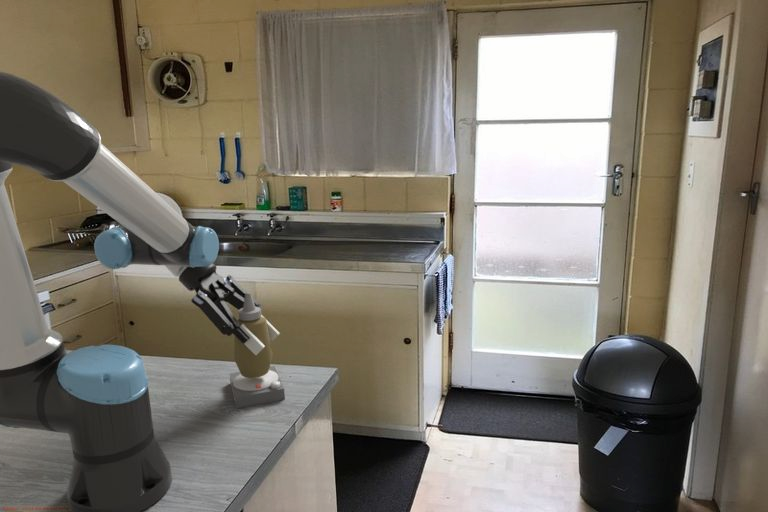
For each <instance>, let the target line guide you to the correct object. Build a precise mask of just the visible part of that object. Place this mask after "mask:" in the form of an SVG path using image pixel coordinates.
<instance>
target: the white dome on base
mask: <svg viewBox="0 0 768 512" xmlns="http://www.w3.org/2000/svg"><path fill="white" fill-rule="evenodd" d="M229 379H230V387H231V391H232V396H233V400H234V405H235V409H240V408H245V407H251V406H255V405H256V406H257V405H261V404H265V403H271V402H277V401H280V400H281V401H282V400H285V399H286V397H285V396H286V395H285V387H284V386H283V383H282V380H281V377H280V376H279V373H278V371H277V369H276V366H275V365H272V366H271V365H270V368H269V371H268V373H267V374H265V375H263V376H261V377H257V378H246V377H244V376H242V375H241V373H240V371H236V372H231V373H229Z"/></svg>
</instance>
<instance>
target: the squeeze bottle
mask: <svg viewBox="0 0 768 512" xmlns="http://www.w3.org/2000/svg"><path fill="white" fill-rule="evenodd" d="M247 292H248V293H245V298H244V306H243V308H241V309H240V310H238V311H237V314H238V319H236V320H237V321H238V323H239V325H240V326H241V325H242V324H244V325H245V326H246V327H247V328H248V329H249V330H250V331H251V332H252V333H253V334H254V335H255V336H256V337H257V338H258V339H259V340H260V341H261V342H262V343H263V344H264V345H265V347H264V348H263V349H262V350H261V351H260V352H259V353H258V354H257V355H255V354H254V353H253V352H252V351H251V350H250V349H249V348H248V347H247V346H246V345H245V344H243V343H242V342H241V341H240V340H239V339H238V338H237V337H236V336H235V335H234V337H233V338H234V343H233V344H234V345H233V347H234V349H233V350H234V351H233V352H234V357H233V358H234V362H235V364H236V366H237V368H238V370H239V371H238V372H240V373H241V375H242V376H244V377H246V378H257V377H261V376H263V375H265V374H267V373H268V371H269V368H270V367H271V364H272V360H273V355H274V354H273V349H272V342H270V337H269V332H268V327H267V322H266V319H267V318H266V317H265V316H264V317H262V316H261V314H262V308H261V309H260V308H259V307H255V304H254V301H253V298H254V297H253V295H252V293H251V292H249V291H247ZM252 297H253V298H252ZM265 318H266V319H265ZM240 326H239V327H240Z"/></svg>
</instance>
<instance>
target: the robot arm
mask: <svg viewBox="0 0 768 512" xmlns="http://www.w3.org/2000/svg"><path fill="white" fill-rule="evenodd" d="M13 165H17V166H22V167H24V168H28V169H31V170H33V171H35V172H37V173H38V174H39V175H41V176H43V178H45V179H47V180H49V181H52V182H63V183H65V184H66V185H67V186H69V187H70V188H71V189H72V190H74V191H76V192H77V193H78V194H79V195H81V196H82V197H84V198H85V199H86V200H87V201H89V202H90V203H91V204H93V205H94V206H96V207H98V209H100V210H101V211H102V212H104V213H105V214H107V215H108V216H110V217H111V219H113V220H115V221H116V222H117V223H119V224H121V225H120V226H114V227H111V228H109V229H107V230H105V231H102V232H101V233H99V234H98V235H97V236H96V238H95V240H94V244H93V248H94V255H95V256H96V259H97V260H98V261H99V263H100V264H101V265H103V266H104V267H106V268H107V269H111V270H119V269H124V268H127V267H129V266H131V265H142V266H143V265H145V266H146V265H148V266H164V267H165V268H166V269H167V270H168V271H169V272H170V273H171V274H172V275H173V276H174V277H176V278H177V277H178V281H179V282H180V284H182V285H183V286H184V287H185V288H186V289H187V290H188V291H190V292H192V291H195V293H196V294H195V295H194V296H193V297H192V298H191V300H190V302H191V304H193V305H195V306H196V307H198V308H199V309H200V310H201V312H202V313H203V314H204V315H205V316H206V317H207V318H208V320H210V321H211V323H212V324H213V325H214V326H215V327H216V328H217V330H218V331H219V332H220V333H221V334H222V335H225V336H228V337H230V336H232V335H234V337H235V336H236V337H237V338H238V339H239V340H240V341H241V342H242V343H243V344H245V345H246V346H247V347H248V348H249V349H250V350H251V351H252V352H253V353H254V354H255V355H257V354H258V353H259V352H260V351H261V350H262V349H263V348H264V347H265V345H264V344H263V343H262V342H261V341H260V340H259V339H258V338H257V337H256V336H255V335H254V334H253V333H252V332H251V331H250V330H249V329H248V328H247V327H246V326H245V325H244V324H242V325H241V326H240V325H239V323H238V321H237V320H238V319H237V317H235V315H234V313H233V312H232V311H231V309H230V307H229V306H228V304H230V305H231V306H232V307H233V308H235V309H236V310H238V311H239V310H240V309H241V308H243V306H244V298H245V293H248V292H249V291H247V290H246V289H244V287H242V286H241V285H240V284H239V283H238V282H237V281H236V279H235V278H234V277H233V275H231V274H228V275H227V277H222V276H221V275H220V274H218V273H217V271H216V270H217V265H216V264H215V263H214V262H216V259H217V258H218V253H219V250H220V241H219V236H218V234H217V233H216V231H215V229H212V228H211V227H207V226H206V227H205V226H202V225H198V226H193V225H192V224H191V223H190V222H189V221H187V220H186V219H185V218H184V217H183V216H182V215H181V214H180V213H178V212H177V211H176V210H175V209H174V208H173V206H171V204H169V203H168V202H167V201H166V200H165V199H163V198H162V197H161V196H160V195H159V194H158V193H156V191H154V190H153V189H152V188H151V187H150V186H149V185H148V184H147V183H146V182H145V181H144V180H142V179H141V178H140V177H139V176H138V175H137V174H136V173H134V171H132V170H131V168H129V167H128V166H127V165H125V163H123V162H122V160H120V159H119V158H118V157H117V156H115V154H113V153H112V151H110V150H109V149H108V148H107V147H106V146H105V145H104V144H103V143H102V138H101V135H100V132H99V131H98V130H97V128H95V126H93V124H92V123H90V122H89V121H88V120H87V119H85V118H84V117H83V116H82V115H81V114H80V113H79V112H78V111H77V110H75V109H74V108H73V107H71V106H70V105H69V104H67V103H66V102H65V101H63V100H62V99H60V98H58V97H57V96H56V95H54V94H53V93H52V92H49V91H48V90H46V89H44V88H43V87H41V86H39V85H38V84H35V83H33V82H31V81H29V80H27V79H26V78H23V77H20V76H19V75H14V74H12V73H9V72H5V71H4V72H3V71H0V426H2V427H6V428H13V429H21V428H22V429H29V430H30V429H31V430H38V431H46V432H54V433H61V434H62V433H63V434H67V435H68V436H69V439H70V444H71V449H72V456H73V461H72V466H71V470H70V471H71V472H70V477H69V482H68V486H67V493H66V494H67V495H66V497H67V498H66V499H67V502H68V507H69V511H70V512H142V511H144V510H146V509H148V508H150V507H151V506H153V505H154V504H156V503H157V502H158V501H159V500H161V499H162V498H163V497H164V496H165V495H166V493H167V492H168V490H170V487H171V484H172V481H173V477H172V476H173V475H172V469H171V468H172V467H171V464H170V461H169V459H168V458H167V455H166V454H165V452H164V450H163V449H162V448H161V446H160V444H159V442H158V441H157V439H156V437H155V432H154V431H155V430H154V423H153V416H152V415H153V414H152V407H151V398H150V394H149V393H150V392H149V391H150V390H149V378H148V375H147V372H146V369H145V365H144V361H143V359H142V357H141V356H140V355H139V353H137V352H136V351H135V350H133V349H131V348H129V347H126V346H123V345H115V344H100V345H99V346H97V345H88V346H84V347H80V348H77V349H75V350H72V351H70V352H69V353H68V352H67V349H66V345H65V343H64V340H63V336H62V334H61V333H60V332H58V331H55V330H53V329H50V328H49V327H48V323H47V321H46V317H45V315H44V311H43V307H42V304H41V300H40V298H39V294H38V291H37V288H36V284H35V281H34V278H33V275H32V271H31V268H30V265H29V262H28V257H27V255H26V252H25V248H24V245H23V242H22V238H21V234H20V231H19V228H18V225H17V222H16V221H17V220H16V219H15V218H16V217H15V214H14V212H13V209H12V204H11V202H10V198H9V195H8V192H7V189H6V186H5V181H6V179H7V178H8V176H9V175H10V174H11V172H12V171H13ZM252 298H253V301H254V304H255V307H259V308H260V309H261V310H262V304H261V303H260V302H259V301H258V300H257V299H255V297H253V296H252ZM227 303H228V304H227ZM261 316H262V317H264V318H265V319H266V322H267V327H268V332H269V337H270V343H272V342H273V341H274V339H276V337H278V336H279V335H280V332H279V331H278V330H277V329H276V328H275V327H274V326H273V325H272V324H271V323H270V322H269V321H268V319H267V318H266V317H265V316H264V315H263V314H262V313H261ZM239 326H240V327H239Z"/></svg>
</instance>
